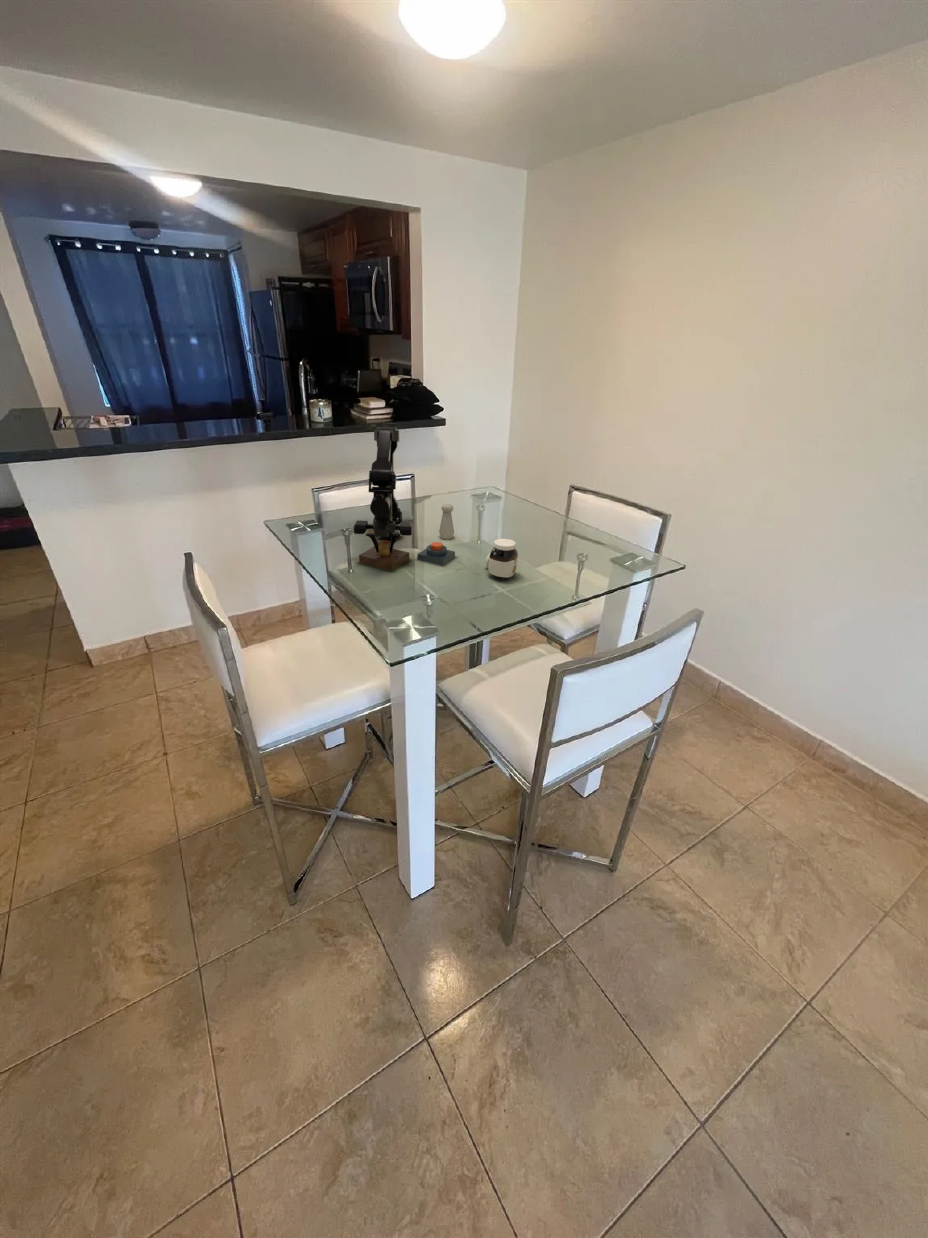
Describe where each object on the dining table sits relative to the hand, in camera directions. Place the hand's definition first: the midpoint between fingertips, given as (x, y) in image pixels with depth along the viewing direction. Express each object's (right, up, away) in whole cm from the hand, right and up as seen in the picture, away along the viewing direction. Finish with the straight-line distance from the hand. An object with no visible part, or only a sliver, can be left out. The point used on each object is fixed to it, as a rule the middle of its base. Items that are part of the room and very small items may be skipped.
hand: (384, 552), depth 171 cm
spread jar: (+38, -7, -2) cm, 39 cm away
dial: (0, 0, 0) cm, 0 cm away
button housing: (+17, -1, +6) cm, 18 cm away
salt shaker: (+20, +9, +25) cm, 33 cm away
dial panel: (0, -3, +2) cm, 4 cm away
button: (+17, +2, +5) cm, 18 cm away
